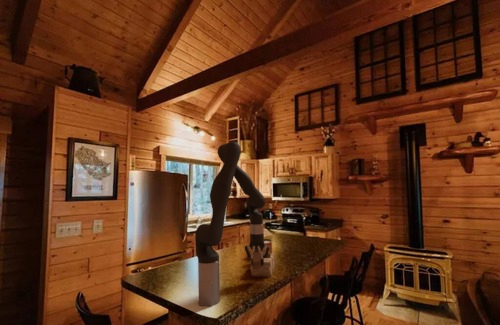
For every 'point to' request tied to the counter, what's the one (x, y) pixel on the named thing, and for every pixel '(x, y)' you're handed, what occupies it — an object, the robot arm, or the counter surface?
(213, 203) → the robot arm
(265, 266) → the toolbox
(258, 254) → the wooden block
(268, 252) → the small box
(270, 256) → the lid
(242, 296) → the counter surface
